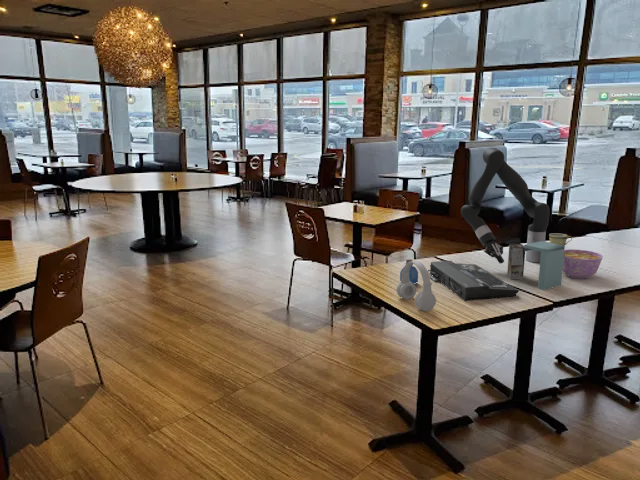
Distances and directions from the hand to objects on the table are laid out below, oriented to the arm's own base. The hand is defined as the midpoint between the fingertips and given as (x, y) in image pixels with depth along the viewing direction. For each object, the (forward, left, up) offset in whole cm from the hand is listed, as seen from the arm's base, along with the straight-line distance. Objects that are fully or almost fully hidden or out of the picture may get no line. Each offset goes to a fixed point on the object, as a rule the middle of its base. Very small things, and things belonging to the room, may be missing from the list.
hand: (502, 262), depth 252 cm
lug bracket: (0, +23, -5) cm, 24 cm away
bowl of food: (-26, +25, -6) cm, 37 cm away
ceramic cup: (-64, -11, -6) cm, 65 cm away
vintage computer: (+29, +5, -6) cm, 30 cm away
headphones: (+68, +11, -6) cm, 69 cm away
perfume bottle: (+52, -13, -6) cm, 54 cm away
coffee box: (0, +8, -6) cm, 10 cm away
